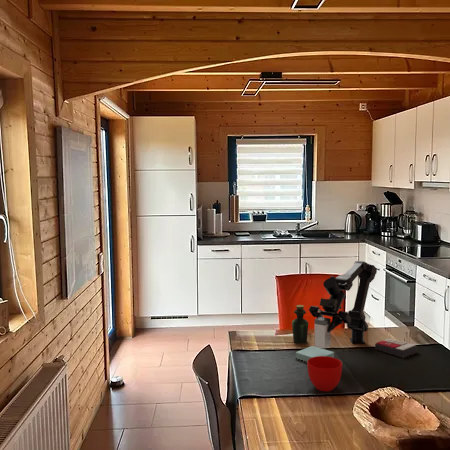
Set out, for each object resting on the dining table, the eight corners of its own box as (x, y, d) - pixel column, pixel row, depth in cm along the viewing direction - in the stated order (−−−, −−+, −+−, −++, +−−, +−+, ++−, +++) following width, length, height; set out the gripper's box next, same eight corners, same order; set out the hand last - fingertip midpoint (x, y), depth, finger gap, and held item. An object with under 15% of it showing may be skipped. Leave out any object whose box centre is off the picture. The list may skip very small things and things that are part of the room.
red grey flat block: (388, 337, 227) (417, 343, 215) (388, 346, 227) (417, 353, 215) (374, 342, 221) (403, 349, 208) (374, 351, 221) (403, 358, 209)
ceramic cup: (344, 379, 188) (344, 354, 187) (340, 397, 172) (340, 370, 171) (311, 375, 192) (311, 351, 191) (304, 392, 176) (304, 366, 175)
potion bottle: (311, 340, 234) (311, 305, 232) (304, 345, 227) (304, 308, 225) (295, 338, 238) (295, 303, 237) (289, 342, 231) (288, 306, 230)
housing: (320, 342, 210) (320, 316, 209) (330, 345, 206) (330, 318, 205) (314, 346, 206) (314, 319, 205) (324, 348, 203) (324, 321, 202)
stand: (312, 352, 218) (312, 345, 218) (334, 358, 209) (334, 352, 209) (295, 358, 210) (295, 352, 210) (317, 366, 201) (317, 359, 201)
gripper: (310, 288, 215) (297, 317, 207) (348, 294, 202) (335, 325, 195) (319, 301, 221) (307, 330, 214) (356, 308, 209) (344, 338, 201)
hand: (322, 330), depth 206 cm, fingers closed on housing, 5 cm apart
